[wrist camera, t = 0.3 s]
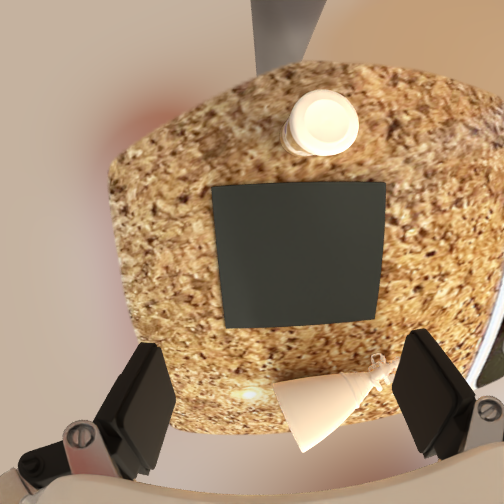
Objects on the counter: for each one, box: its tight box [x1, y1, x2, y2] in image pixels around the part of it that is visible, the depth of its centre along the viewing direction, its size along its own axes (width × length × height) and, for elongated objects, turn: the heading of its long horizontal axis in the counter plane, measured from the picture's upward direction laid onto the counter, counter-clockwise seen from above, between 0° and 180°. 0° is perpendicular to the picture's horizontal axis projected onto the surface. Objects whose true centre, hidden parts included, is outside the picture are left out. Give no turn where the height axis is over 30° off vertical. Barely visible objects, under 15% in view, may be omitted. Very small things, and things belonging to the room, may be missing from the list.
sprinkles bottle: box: [280, 90, 359, 157], centre depth 23 cm, size 5×5×13 cm
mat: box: [211, 182, 386, 328], centre depth 33 cm, size 18×20×1 cm
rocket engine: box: [272, 353, 401, 452], centre depth 35 cm, size 12×12×18 cm
